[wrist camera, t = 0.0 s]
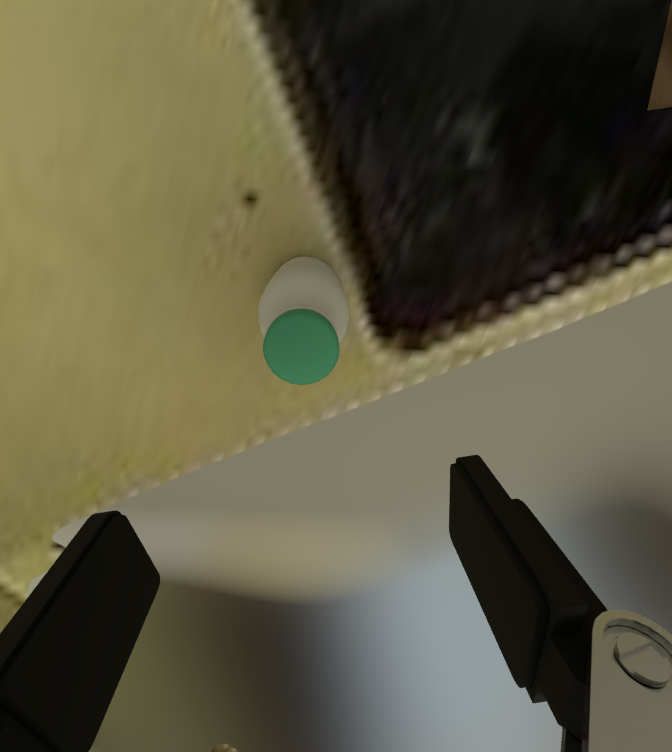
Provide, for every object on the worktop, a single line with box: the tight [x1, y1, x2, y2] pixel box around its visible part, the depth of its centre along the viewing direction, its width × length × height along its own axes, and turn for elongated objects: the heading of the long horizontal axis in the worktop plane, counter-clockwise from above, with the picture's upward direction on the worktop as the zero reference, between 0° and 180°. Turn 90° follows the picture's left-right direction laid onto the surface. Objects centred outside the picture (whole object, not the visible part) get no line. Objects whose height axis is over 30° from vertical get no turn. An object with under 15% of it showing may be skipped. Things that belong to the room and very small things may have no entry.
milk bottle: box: [258, 256, 349, 385], centre depth 28 cm, size 8×8×20 cm
